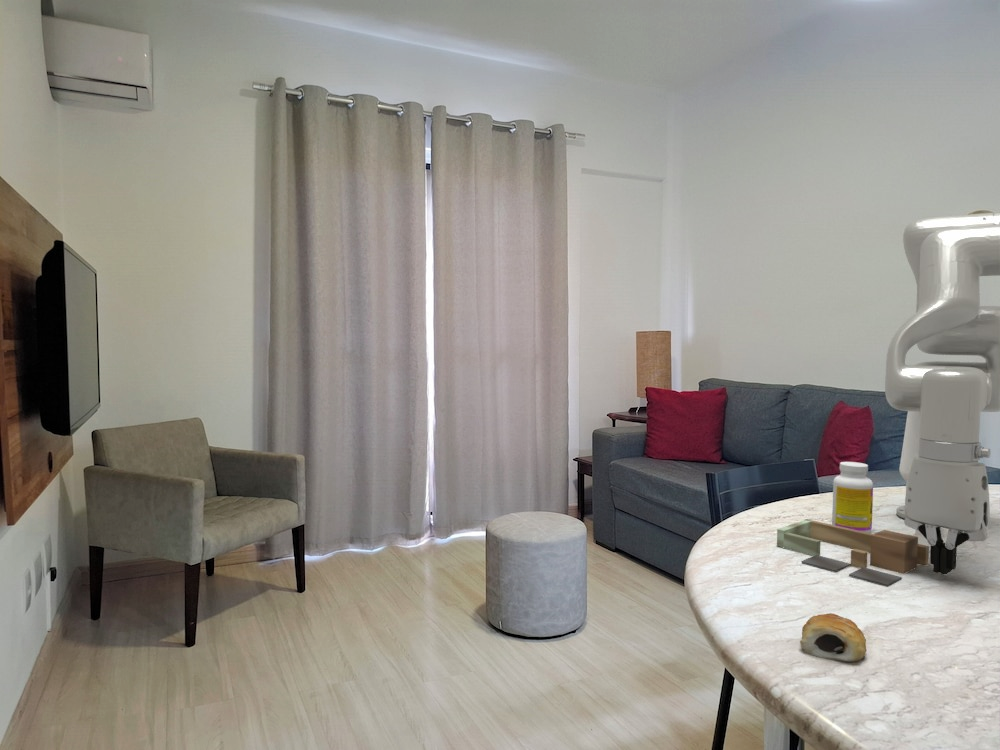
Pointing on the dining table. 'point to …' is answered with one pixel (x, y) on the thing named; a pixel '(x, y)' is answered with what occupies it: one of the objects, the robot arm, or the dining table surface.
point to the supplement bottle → (853, 497)
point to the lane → (811, 533)
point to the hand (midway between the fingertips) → (942, 571)
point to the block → (893, 551)
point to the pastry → (833, 638)
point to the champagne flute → (911, 455)
